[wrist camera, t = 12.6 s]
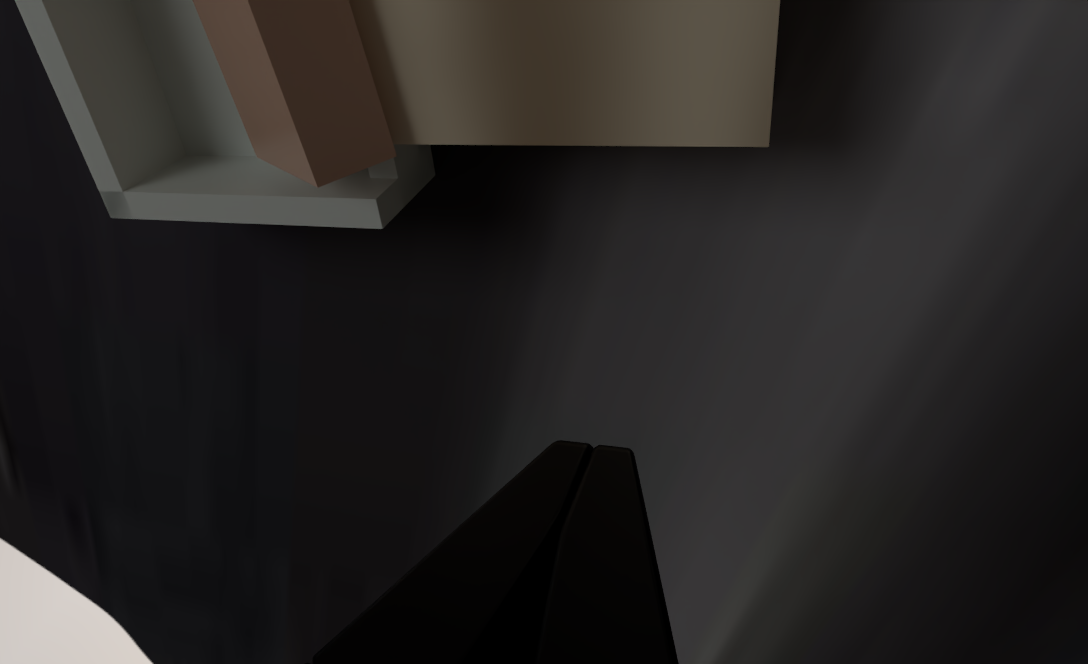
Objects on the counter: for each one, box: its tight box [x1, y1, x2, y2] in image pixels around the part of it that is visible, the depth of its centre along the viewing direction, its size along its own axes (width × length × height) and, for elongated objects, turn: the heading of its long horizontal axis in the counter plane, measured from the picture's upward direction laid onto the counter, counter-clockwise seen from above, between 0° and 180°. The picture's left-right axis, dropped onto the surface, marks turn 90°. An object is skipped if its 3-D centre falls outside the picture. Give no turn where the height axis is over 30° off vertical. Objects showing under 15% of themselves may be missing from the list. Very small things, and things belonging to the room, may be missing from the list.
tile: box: [192, 0, 397, 188], centre depth 18 cm, size 4×4×2 cm
